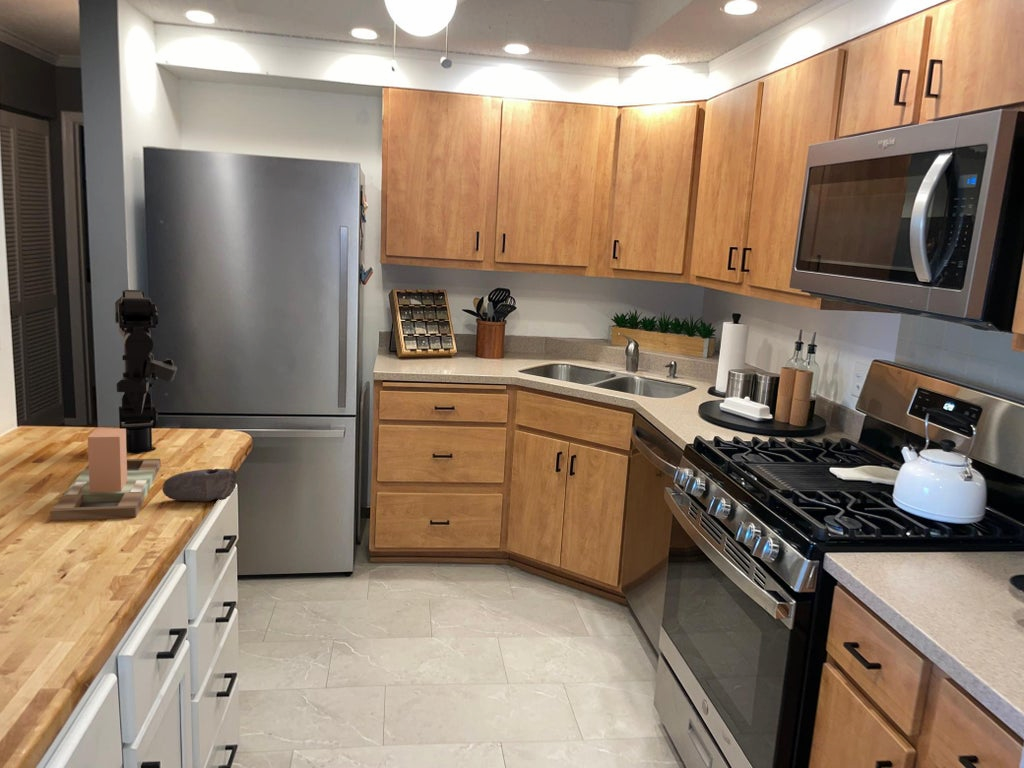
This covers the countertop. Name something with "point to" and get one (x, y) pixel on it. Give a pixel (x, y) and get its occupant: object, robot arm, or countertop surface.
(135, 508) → the trap board
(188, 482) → the perforated stone tool
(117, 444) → the terracotta block
